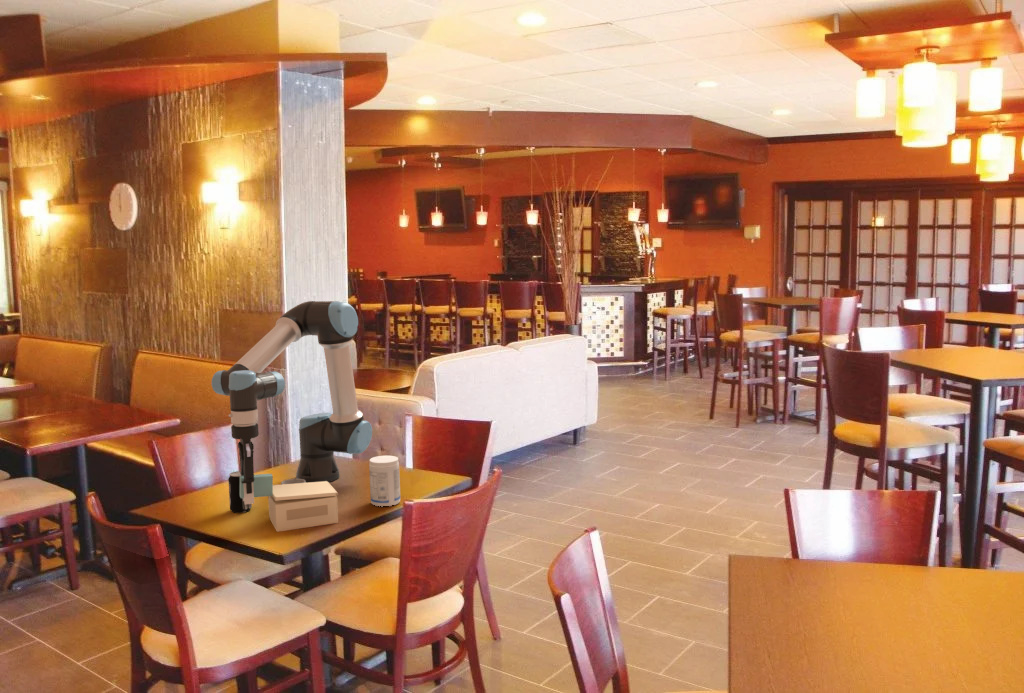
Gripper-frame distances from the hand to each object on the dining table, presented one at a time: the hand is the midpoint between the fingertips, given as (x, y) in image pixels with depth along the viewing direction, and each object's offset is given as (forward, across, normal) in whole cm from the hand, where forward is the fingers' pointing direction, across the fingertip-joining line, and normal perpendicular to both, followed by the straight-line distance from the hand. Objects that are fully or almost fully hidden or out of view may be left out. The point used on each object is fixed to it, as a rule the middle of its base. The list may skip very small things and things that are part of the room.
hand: (248, 501), depth 249 cm
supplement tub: (+8, -5, +43) cm, 44 cm away
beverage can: (+8, -19, 0) cm, 21 cm away
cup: (+8, -13, +15) cm, 21 cm away
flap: (-1, 0, +11) cm, 11 cm away
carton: (+8, 0, +16) cm, 18 cm away
